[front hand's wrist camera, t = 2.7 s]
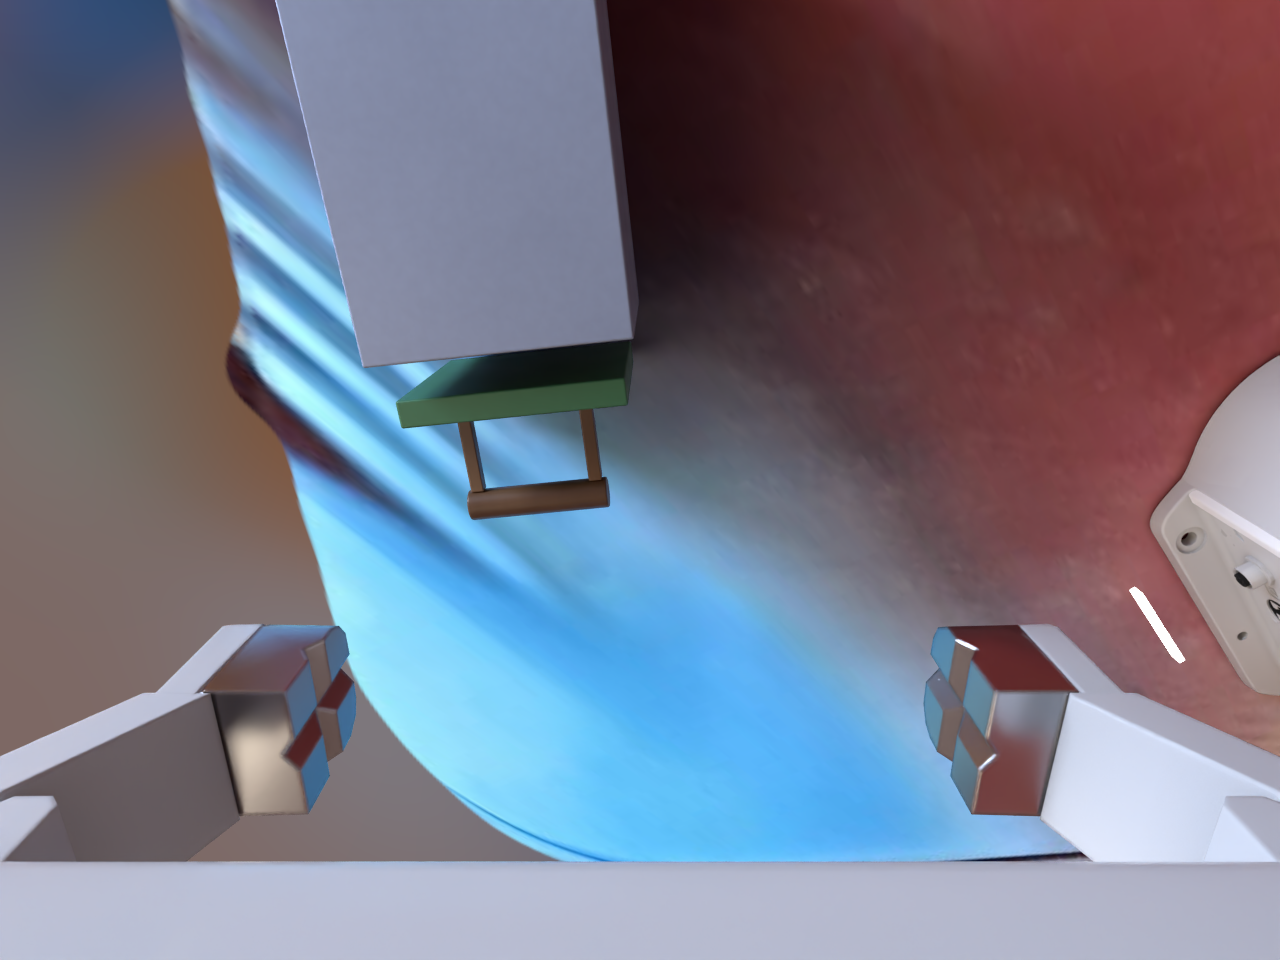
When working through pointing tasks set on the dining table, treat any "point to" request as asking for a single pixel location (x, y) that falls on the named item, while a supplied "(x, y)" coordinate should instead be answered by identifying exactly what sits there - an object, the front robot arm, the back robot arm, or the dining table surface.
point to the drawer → (525, 391)
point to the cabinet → (468, 172)
